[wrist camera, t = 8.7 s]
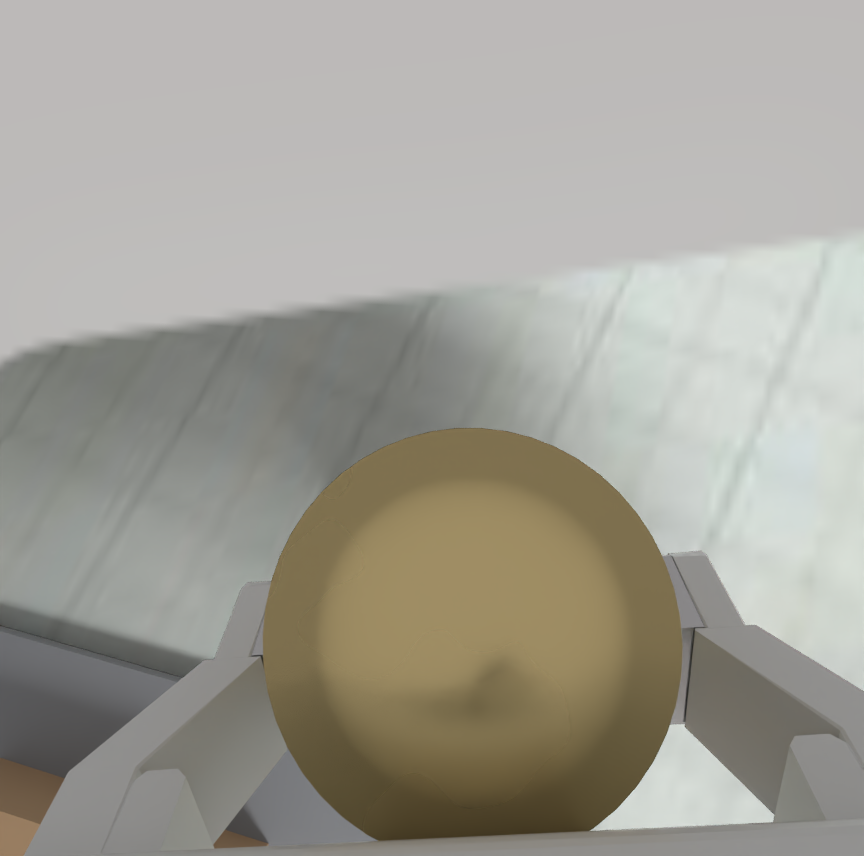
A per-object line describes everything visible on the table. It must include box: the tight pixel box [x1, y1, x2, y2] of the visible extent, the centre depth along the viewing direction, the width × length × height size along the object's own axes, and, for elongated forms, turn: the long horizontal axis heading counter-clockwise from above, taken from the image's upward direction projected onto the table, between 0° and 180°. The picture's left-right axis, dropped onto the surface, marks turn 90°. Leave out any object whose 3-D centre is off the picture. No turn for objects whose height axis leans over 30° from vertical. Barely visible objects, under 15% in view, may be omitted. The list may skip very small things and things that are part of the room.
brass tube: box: [263, 428, 683, 841], centre depth 11 cm, size 4×4×10 cm
